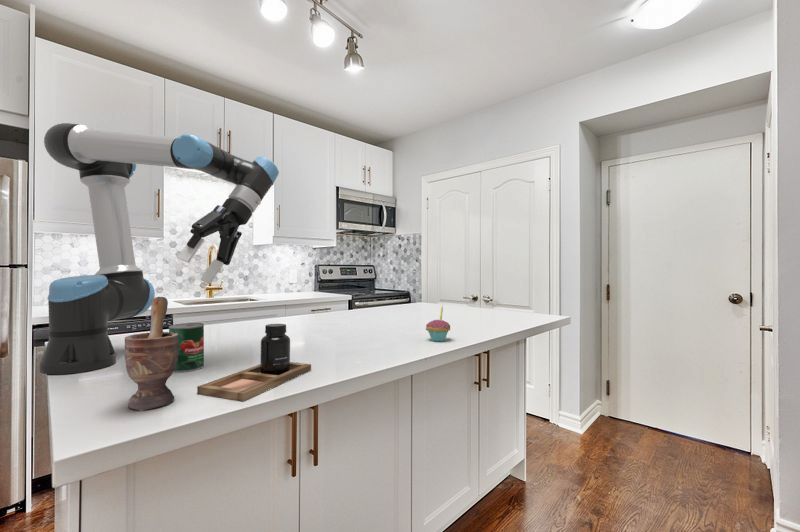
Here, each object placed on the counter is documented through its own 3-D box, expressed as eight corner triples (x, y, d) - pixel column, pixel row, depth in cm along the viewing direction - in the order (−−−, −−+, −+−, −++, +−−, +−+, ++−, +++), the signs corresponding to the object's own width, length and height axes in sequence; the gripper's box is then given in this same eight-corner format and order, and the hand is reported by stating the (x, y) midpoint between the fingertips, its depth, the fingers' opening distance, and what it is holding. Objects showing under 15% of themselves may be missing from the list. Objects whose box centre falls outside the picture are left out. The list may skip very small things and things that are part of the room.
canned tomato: (194, 372, 94) (193, 327, 94) (161, 372, 94) (161, 327, 94) (209, 363, 102) (209, 322, 102) (180, 363, 102) (180, 322, 102)
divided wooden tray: (197, 393, 79) (197, 386, 79) (272, 365, 100) (272, 359, 100) (243, 401, 74) (243, 393, 74) (311, 370, 96) (311, 364, 96)
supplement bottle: (281, 379, 88) (281, 327, 88) (254, 377, 90) (254, 326, 89) (295, 371, 95) (295, 323, 95) (270, 369, 96) (270, 322, 96)
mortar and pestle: (121, 398, 76) (120, 297, 76) (171, 388, 82) (170, 295, 82) (127, 415, 67) (126, 302, 67) (182, 404, 73) (182, 299, 73)
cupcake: (438, 336, 139) (438, 304, 139) (455, 340, 133) (455, 306, 132) (420, 339, 134) (420, 305, 134) (438, 343, 127) (438, 307, 127)
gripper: (238, 183, 92) (186, 255, 84) (263, 233, 115) (225, 294, 107) (211, 172, 93) (156, 243, 84) (241, 224, 116) (201, 284, 107)
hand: (194, 271), depth 96 cm, fingers open, 13 cm apart
